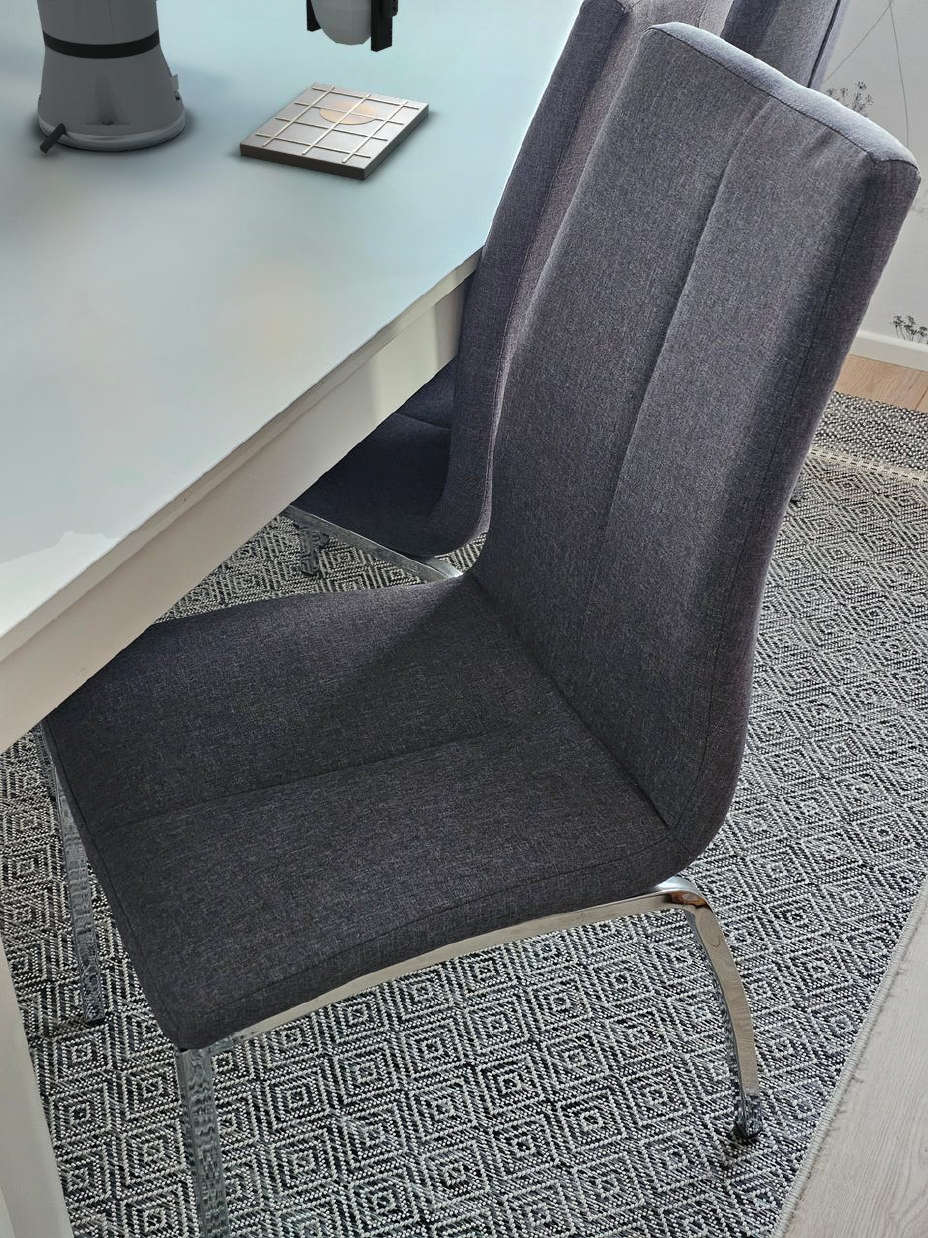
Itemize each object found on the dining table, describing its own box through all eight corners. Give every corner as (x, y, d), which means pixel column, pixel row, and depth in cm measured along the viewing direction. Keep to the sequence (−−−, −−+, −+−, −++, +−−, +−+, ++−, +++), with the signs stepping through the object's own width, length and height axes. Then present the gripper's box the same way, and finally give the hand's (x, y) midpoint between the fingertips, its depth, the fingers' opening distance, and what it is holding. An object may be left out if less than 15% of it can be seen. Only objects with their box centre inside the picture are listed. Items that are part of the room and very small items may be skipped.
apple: (401, 41, 128) (402, -26, 124) (352, 58, 124) (353, -11, 119) (344, 22, 132) (344, -44, 127) (295, 39, 127) (293, -29, 122)
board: (364, 180, 123) (364, 167, 122) (240, 154, 126) (239, 142, 125) (428, 114, 137) (429, 102, 137) (315, 92, 140) (315, 80, 139)
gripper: (462, -206, 110) (449, 53, 126) (290, -241, 118) (297, 7, 134) (413, -197, 106) (405, 71, 121) (237, -234, 114) (251, 22, 129)
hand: (349, 37), depth 128 cm, fingers closed on apple, 8 cm apart
